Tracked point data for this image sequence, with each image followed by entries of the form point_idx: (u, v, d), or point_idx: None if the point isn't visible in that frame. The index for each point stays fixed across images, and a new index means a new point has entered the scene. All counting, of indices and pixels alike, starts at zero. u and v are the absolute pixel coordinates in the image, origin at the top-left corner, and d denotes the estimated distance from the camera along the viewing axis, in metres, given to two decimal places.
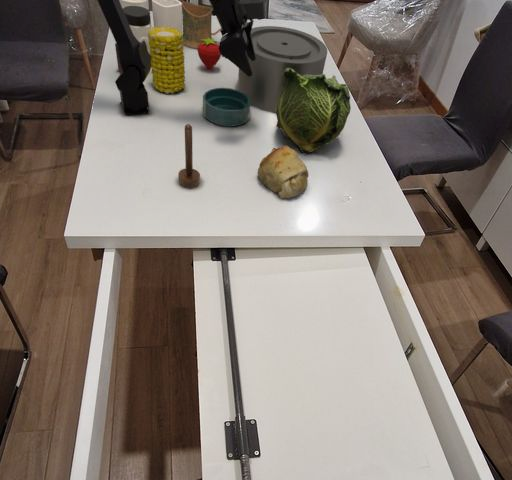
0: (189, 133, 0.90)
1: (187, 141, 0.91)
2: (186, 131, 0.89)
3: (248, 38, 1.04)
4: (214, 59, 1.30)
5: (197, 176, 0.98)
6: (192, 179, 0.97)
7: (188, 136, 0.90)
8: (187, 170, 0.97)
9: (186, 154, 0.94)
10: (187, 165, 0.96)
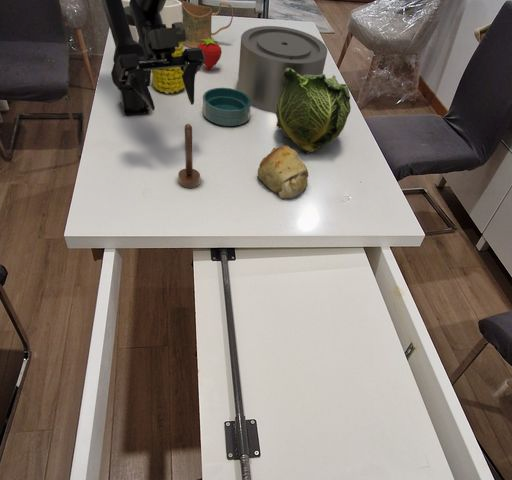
0: (189, 133, 0.90)
1: (187, 141, 0.91)
2: (186, 131, 0.89)
3: (188, 79, 0.92)
4: (214, 59, 1.30)
5: (197, 176, 0.98)
6: (192, 179, 0.97)
7: (188, 136, 0.90)
8: (187, 170, 0.97)
9: (186, 154, 0.94)
10: (187, 165, 0.96)
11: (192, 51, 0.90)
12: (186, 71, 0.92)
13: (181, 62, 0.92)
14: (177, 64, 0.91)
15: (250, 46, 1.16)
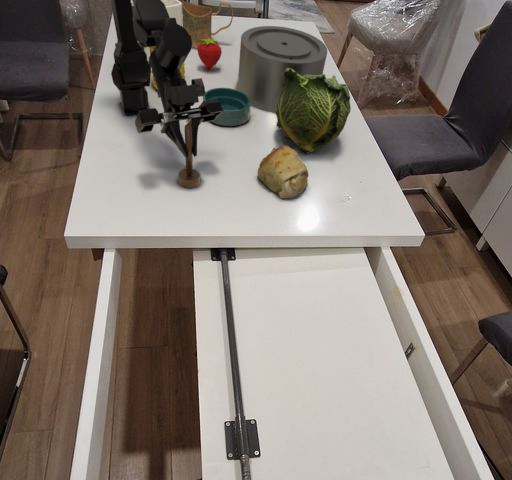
0: (189, 133, 0.90)
1: (187, 141, 0.91)
2: (186, 131, 0.89)
3: None
4: (214, 59, 1.30)
5: (197, 176, 0.98)
6: (192, 179, 0.97)
7: (188, 136, 0.90)
8: (187, 170, 0.97)
9: None
10: (187, 165, 0.96)
11: (210, 104, 0.91)
12: None
13: (199, 113, 0.93)
14: None
15: (250, 46, 1.16)
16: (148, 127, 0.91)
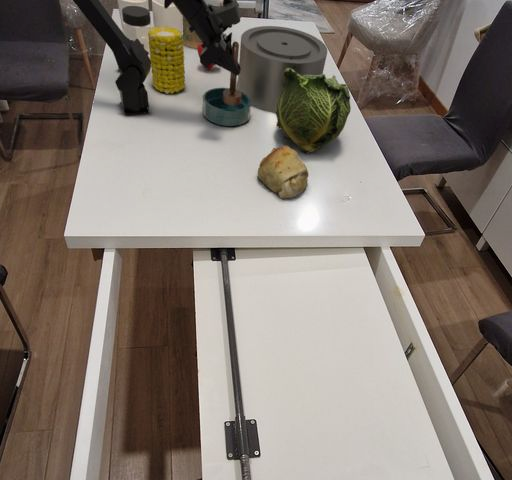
0: (238, 49, 1.02)
1: (236, 58, 1.04)
2: (237, 48, 1.02)
3: (229, 51, 1.04)
4: None
5: (238, 91, 1.11)
6: (240, 94, 1.11)
7: (237, 52, 1.03)
8: (234, 88, 1.09)
9: None
10: (234, 83, 1.08)
11: None
12: None
13: None
14: None
15: (250, 46, 1.16)
16: None
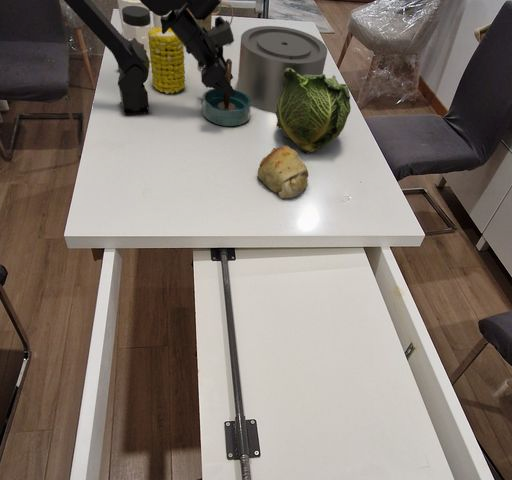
0: (231, 66, 1.09)
1: (230, 74, 1.10)
2: (230, 65, 1.09)
3: (222, 61, 1.13)
4: None
5: (231, 104, 1.18)
6: (233, 106, 1.18)
7: (231, 69, 1.10)
8: (228, 102, 1.16)
9: None
10: (228, 97, 1.15)
11: None
12: (217, 56, 1.12)
13: None
14: None
15: (250, 46, 1.16)
16: None
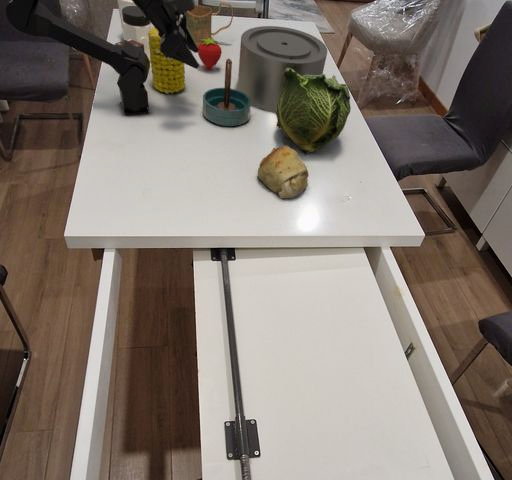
0: (231, 66, 1.09)
1: (230, 74, 1.10)
2: (230, 65, 1.09)
3: (186, 32, 1.06)
4: (214, 59, 1.30)
5: (231, 104, 1.18)
6: (233, 106, 1.18)
7: (231, 69, 1.10)
8: (228, 102, 1.16)
9: (228, 87, 1.13)
10: (228, 97, 1.15)
11: None
12: (180, 27, 1.06)
13: None
14: None
15: (250, 46, 1.16)
16: None
